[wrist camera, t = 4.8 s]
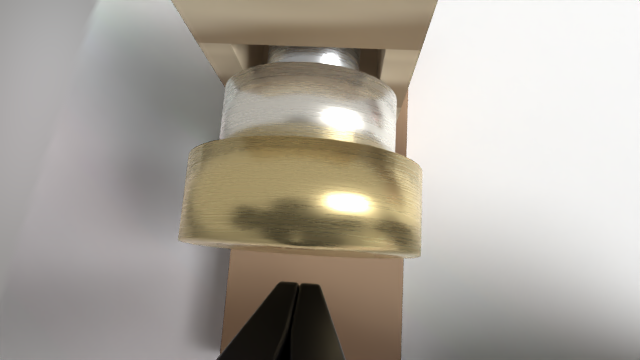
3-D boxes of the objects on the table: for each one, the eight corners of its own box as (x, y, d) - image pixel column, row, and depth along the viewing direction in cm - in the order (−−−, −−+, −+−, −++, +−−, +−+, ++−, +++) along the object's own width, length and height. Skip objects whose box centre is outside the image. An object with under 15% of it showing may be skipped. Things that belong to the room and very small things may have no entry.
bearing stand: (396, 366, 16) (486, 517, 6) (228, 353, 17) (42, 475, 6) (406, 29, 19) (479, -265, 9) (260, 25, 19) (166, -263, 9)
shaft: (403, 261, 13) (445, 249, 8) (216, 249, 13) (133, 230, 8) (411, -25, 14) (448, -192, 9) (246, -29, 15) (195, -192, 10)
